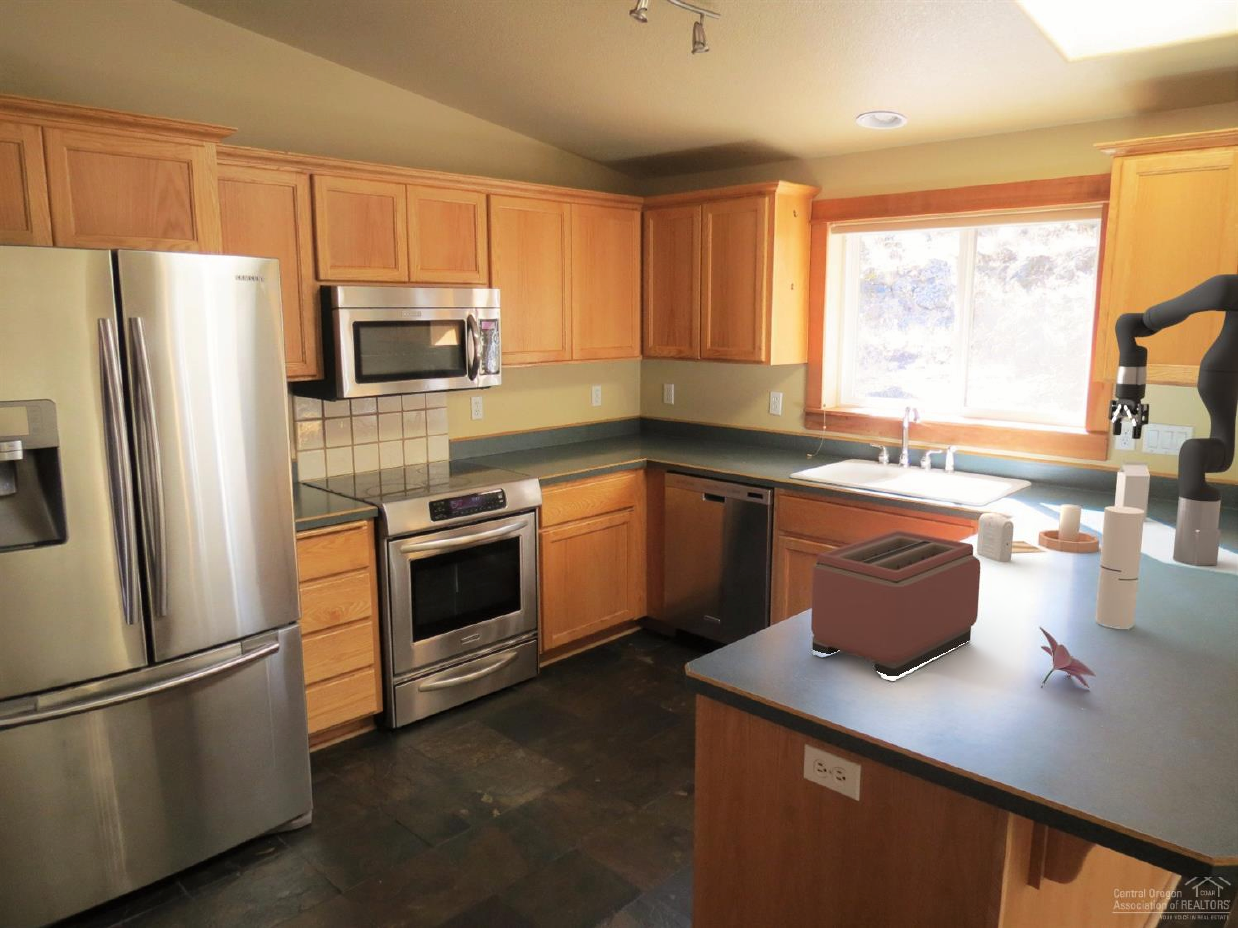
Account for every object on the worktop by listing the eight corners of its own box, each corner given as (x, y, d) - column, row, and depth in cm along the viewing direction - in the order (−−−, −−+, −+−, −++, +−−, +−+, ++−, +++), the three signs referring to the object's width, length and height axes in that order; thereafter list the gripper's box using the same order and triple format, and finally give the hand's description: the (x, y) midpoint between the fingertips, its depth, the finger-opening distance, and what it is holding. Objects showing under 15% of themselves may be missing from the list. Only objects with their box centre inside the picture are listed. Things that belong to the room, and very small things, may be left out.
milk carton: (1145, 521, 271) (1151, 463, 268) (1121, 521, 272) (1126, 463, 269) (1137, 517, 278) (1142, 460, 275) (1113, 516, 279) (1118, 459, 276)
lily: (1092, 712, 142) (1117, 661, 142) (1023, 677, 145) (1047, 627, 146) (1072, 703, 154) (1095, 656, 154) (1008, 671, 157) (1031, 625, 157)
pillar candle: (1082, 545, 240) (1085, 507, 238) (1064, 546, 240) (1067, 508, 238) (1071, 541, 245) (1074, 504, 244) (1053, 541, 245) (1056, 504, 243)
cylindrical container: (1098, 615, 185) (1108, 504, 181) (1136, 622, 181) (1146, 509, 177) (1092, 624, 180) (1101, 510, 176) (1130, 632, 175) (1141, 515, 171)
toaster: (986, 636, 174) (993, 540, 171) (893, 686, 151) (898, 576, 147) (902, 613, 188) (906, 524, 185) (804, 656, 165) (807, 554, 162)
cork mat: (1046, 553, 236) (1046, 551, 236) (1005, 554, 235) (1005, 553, 235) (1022, 542, 248) (1023, 541, 248) (983, 543, 247) (983, 542, 247)
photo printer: (1013, 562, 227) (1016, 517, 225) (1000, 563, 226) (1003, 518, 224) (986, 552, 237) (989, 509, 235) (974, 553, 236) (976, 510, 234)
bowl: (1110, 552, 236) (1110, 542, 235) (1058, 554, 234) (1058, 543, 234) (1076, 539, 251) (1077, 529, 250) (1027, 540, 249) (1028, 530, 249)
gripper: (1103, 380, 253) (1098, 434, 256) (1135, 383, 239) (1130, 440, 242) (1126, 380, 254) (1122, 433, 256) (1160, 383, 240) (1155, 439, 242)
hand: (1126, 436), depth 249 cm, fingers open, 8 cm apart
